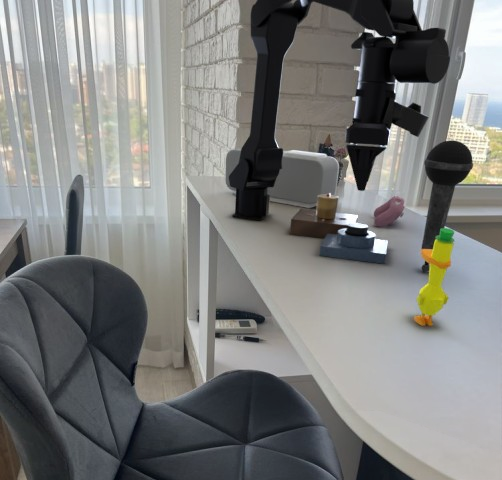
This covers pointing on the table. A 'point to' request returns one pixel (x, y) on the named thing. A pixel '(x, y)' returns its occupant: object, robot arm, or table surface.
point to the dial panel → (319, 223)
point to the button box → (354, 247)
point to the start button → (357, 229)
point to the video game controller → (389, 211)
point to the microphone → (443, 185)
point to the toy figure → (435, 277)
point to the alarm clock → (297, 177)
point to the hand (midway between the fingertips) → (362, 186)
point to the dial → (326, 206)
